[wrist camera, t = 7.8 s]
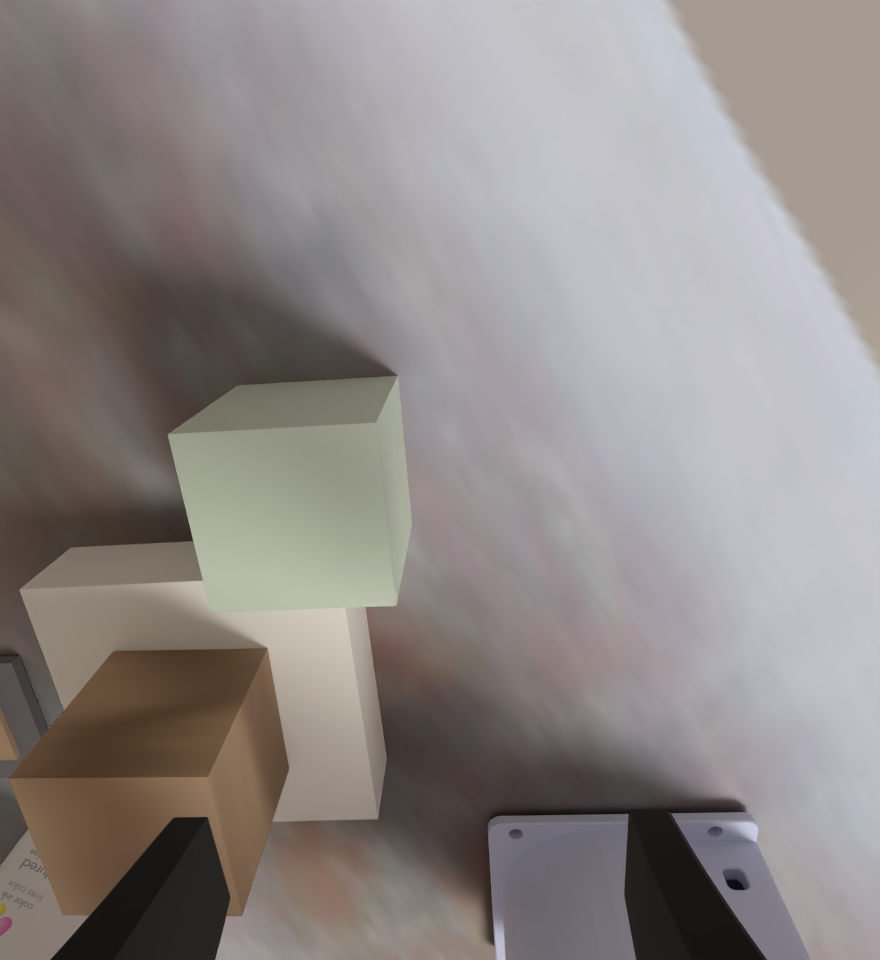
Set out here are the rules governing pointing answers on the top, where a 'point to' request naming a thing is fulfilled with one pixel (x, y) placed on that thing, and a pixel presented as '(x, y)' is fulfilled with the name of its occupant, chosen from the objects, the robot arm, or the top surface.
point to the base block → (191, 626)
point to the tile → (17, 715)
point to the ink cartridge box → (30, 908)
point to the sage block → (298, 494)
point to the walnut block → (155, 768)
